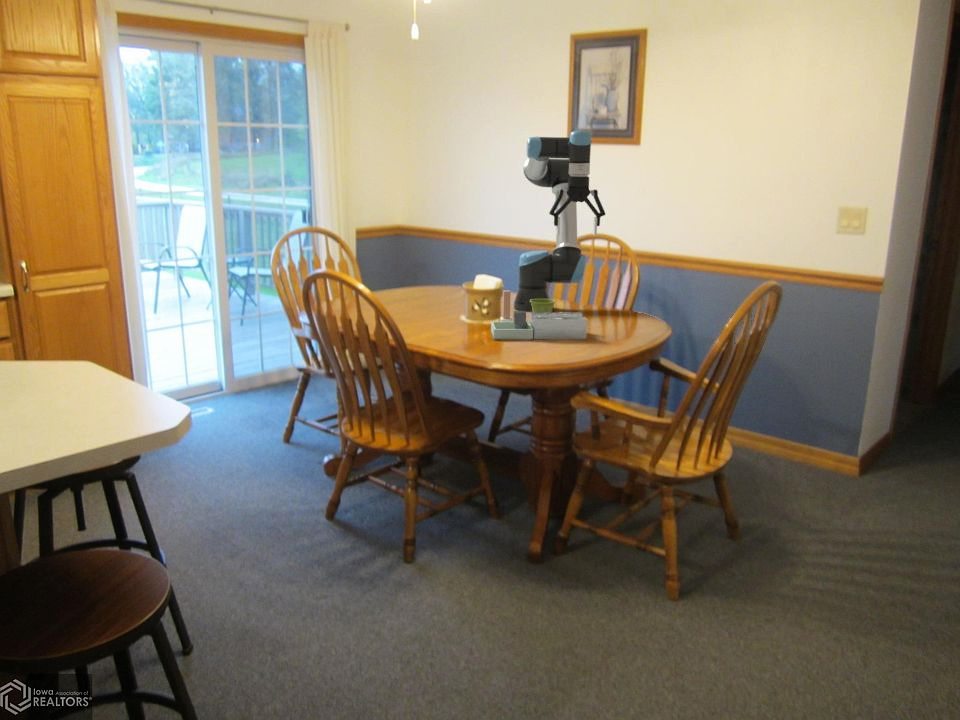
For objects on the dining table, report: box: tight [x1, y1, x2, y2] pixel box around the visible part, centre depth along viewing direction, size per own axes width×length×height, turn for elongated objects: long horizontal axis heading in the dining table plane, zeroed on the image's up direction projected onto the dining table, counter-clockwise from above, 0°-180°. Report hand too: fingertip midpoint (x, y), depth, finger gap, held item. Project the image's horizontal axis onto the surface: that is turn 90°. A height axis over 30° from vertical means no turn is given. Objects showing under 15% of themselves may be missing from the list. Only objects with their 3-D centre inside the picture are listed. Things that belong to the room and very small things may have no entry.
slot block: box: [529, 311, 588, 340], centre depth 279 cm, size 12×18×7 cm, turn 93°
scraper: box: [499, 290, 513, 322], centre depth 290 cm, size 5×4×14 cm
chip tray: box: [490, 321, 534, 341], centre depth 279 cm, size 13×14×4 cm
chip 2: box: [515, 321, 528, 329], centre depth 279 cm, size 4×4×4 cm
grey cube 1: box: [512, 310, 527, 324], centre depth 278 cm, size 4×4×4 cm
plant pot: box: [530, 298, 556, 312], centre depth 298 cm, size 9×9×9 cm
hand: (576, 235), depth 294 cm, fingers open, 13 cm apart
